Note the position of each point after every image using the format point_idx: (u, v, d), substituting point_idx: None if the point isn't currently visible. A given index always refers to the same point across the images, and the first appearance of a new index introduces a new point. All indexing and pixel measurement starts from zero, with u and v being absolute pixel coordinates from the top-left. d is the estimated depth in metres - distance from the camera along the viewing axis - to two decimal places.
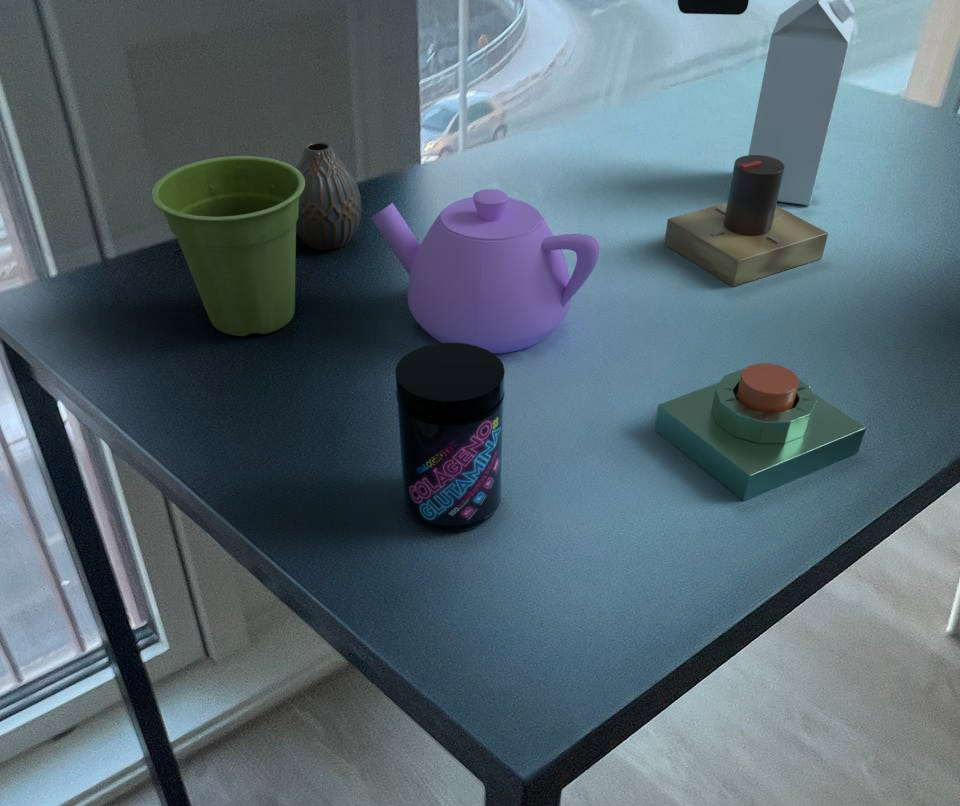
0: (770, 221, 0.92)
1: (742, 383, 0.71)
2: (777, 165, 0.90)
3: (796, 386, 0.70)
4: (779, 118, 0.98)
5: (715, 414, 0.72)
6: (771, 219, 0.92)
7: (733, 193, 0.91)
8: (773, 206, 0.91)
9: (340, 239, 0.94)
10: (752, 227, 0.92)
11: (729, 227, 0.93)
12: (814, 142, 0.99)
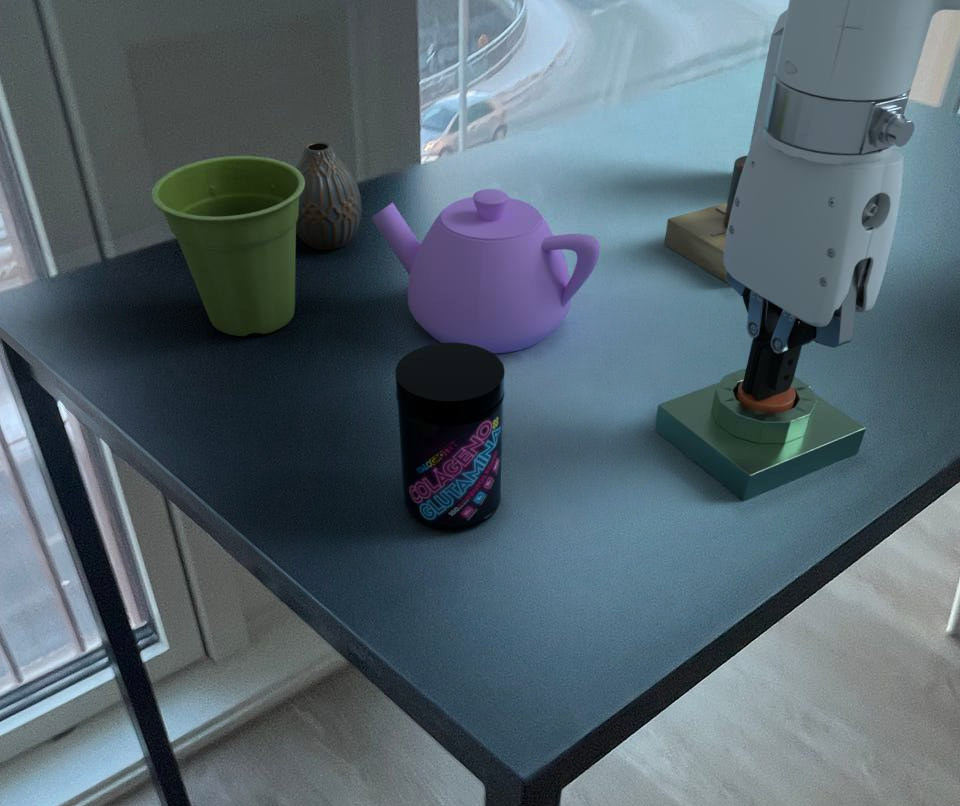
0: None
1: (740, 396, 0.71)
2: None
3: (793, 398, 0.71)
4: None
5: (715, 414, 0.72)
6: None
7: (733, 193, 0.91)
8: None
9: (340, 239, 0.94)
10: None
11: None
12: None
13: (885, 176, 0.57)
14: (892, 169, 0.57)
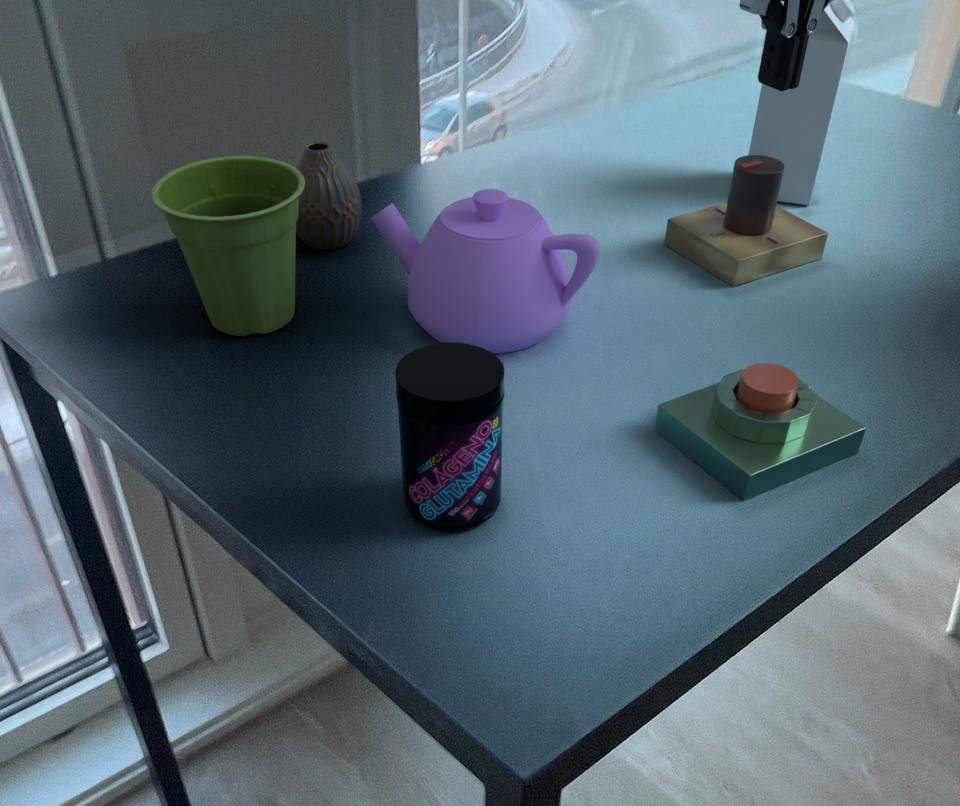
0: (770, 221, 0.92)
1: (742, 383, 0.71)
2: (777, 165, 0.90)
3: (796, 386, 0.70)
4: (779, 118, 0.98)
5: (715, 414, 0.72)
6: (771, 219, 0.92)
7: (733, 193, 0.91)
8: (773, 206, 0.91)
9: (340, 239, 0.94)
10: (752, 227, 0.92)
11: (729, 227, 0.93)
12: (814, 142, 0.99)
13: None
14: None
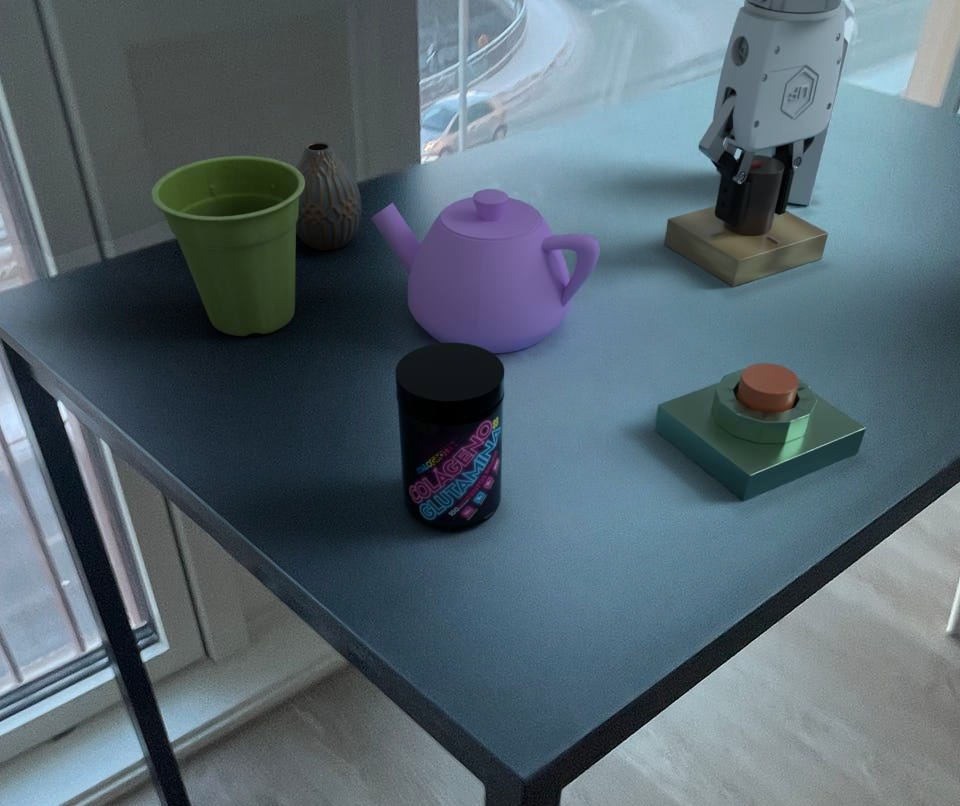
0: (770, 221, 0.92)
1: (742, 383, 0.71)
2: (777, 165, 0.90)
3: (796, 386, 0.70)
4: None
5: (715, 414, 0.72)
6: (771, 219, 0.92)
7: None
8: (773, 206, 0.91)
9: (340, 239, 0.94)
10: (752, 227, 0.92)
11: (729, 227, 0.93)
12: (814, 142, 0.99)
13: (748, 25, 0.80)
14: (754, 22, 0.79)
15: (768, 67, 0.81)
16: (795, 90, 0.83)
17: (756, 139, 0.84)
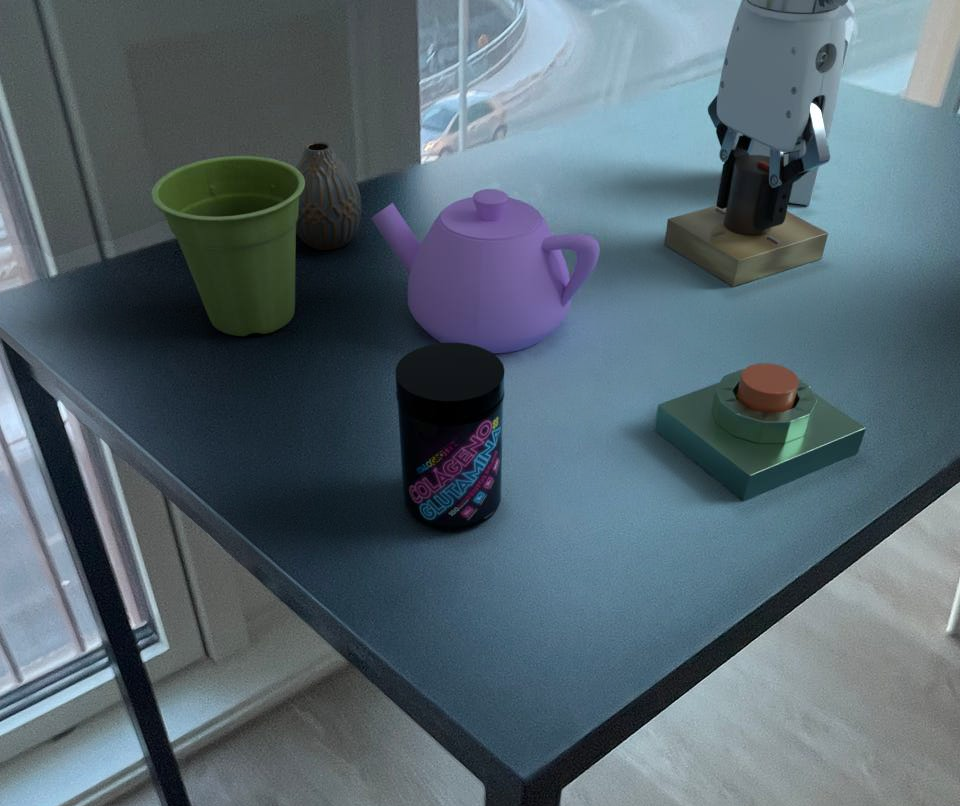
0: None
1: (742, 383, 0.71)
2: (758, 157, 0.91)
3: (796, 386, 0.70)
4: None
5: (715, 414, 0.72)
6: None
7: None
8: None
9: (340, 239, 0.94)
10: None
11: (763, 231, 0.93)
12: None
13: (832, 30, 0.79)
14: (837, 25, 0.79)
15: None
16: None
17: None
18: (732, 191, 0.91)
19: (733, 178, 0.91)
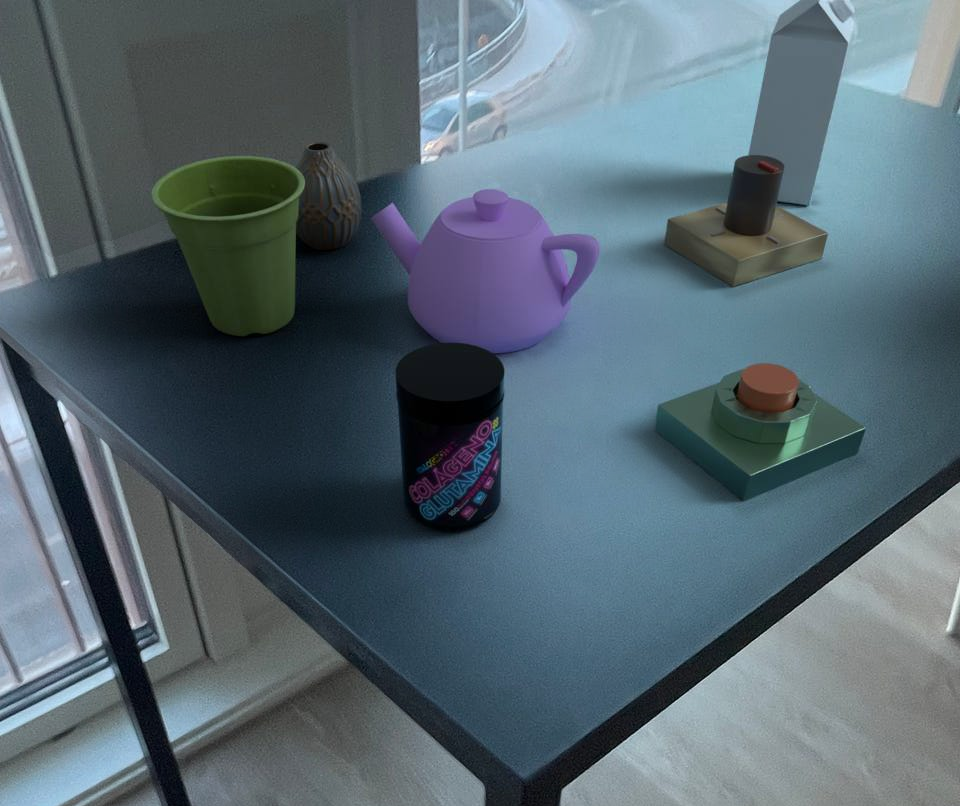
0: None
1: (742, 383, 0.71)
2: (759, 157, 0.91)
3: (796, 386, 0.70)
4: (779, 118, 0.98)
5: (715, 414, 0.72)
6: None
7: (766, 199, 0.90)
8: None
9: (340, 239, 0.94)
10: None
11: (763, 231, 0.93)
12: (814, 142, 0.99)
13: None
14: None
15: None
16: None
17: None
18: (732, 191, 0.91)
19: (733, 178, 0.91)
